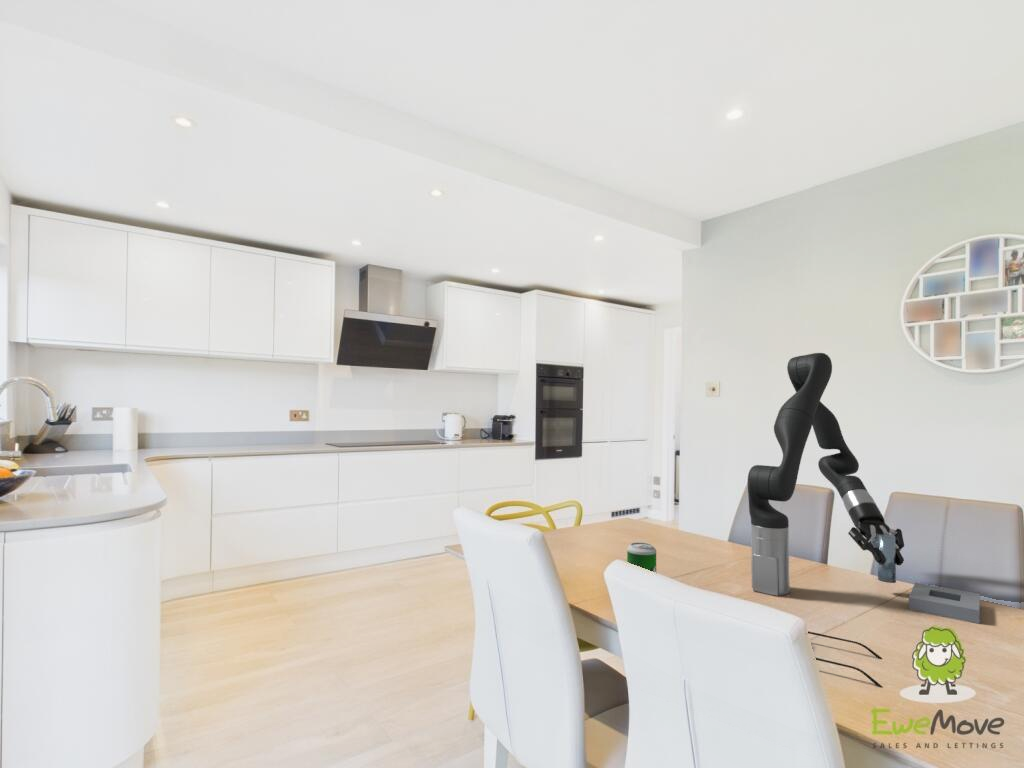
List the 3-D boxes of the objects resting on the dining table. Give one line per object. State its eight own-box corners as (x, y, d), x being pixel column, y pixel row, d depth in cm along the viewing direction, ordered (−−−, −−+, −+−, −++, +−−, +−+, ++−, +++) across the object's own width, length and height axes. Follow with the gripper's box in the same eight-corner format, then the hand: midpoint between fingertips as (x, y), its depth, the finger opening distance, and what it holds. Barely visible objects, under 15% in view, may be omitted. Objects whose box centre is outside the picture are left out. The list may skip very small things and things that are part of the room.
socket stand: (979, 623, 123) (978, 610, 123) (909, 609, 131) (908, 597, 131) (980, 605, 135) (979, 593, 135) (915, 593, 143) (915, 582, 143)
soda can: (651, 597, 138) (651, 549, 138) (623, 591, 142) (623, 545, 142) (659, 589, 144) (659, 544, 145) (632, 584, 148) (632, 540, 149)
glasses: (787, 639, 114) (787, 615, 114) (882, 660, 104) (881, 634, 105) (777, 664, 102) (776, 637, 102) (882, 690, 93) (881, 660, 93)
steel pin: (895, 583, 140) (894, 537, 141) (876, 580, 143) (875, 534, 144) (897, 580, 143) (896, 535, 144) (879, 577, 146) (878, 532, 147)
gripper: (842, 500, 152) (870, 555, 139) (893, 502, 152) (926, 556, 139) (832, 516, 157) (858, 570, 144) (881, 517, 157) (912, 571, 144)
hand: (891, 563), depth 142 cm, fingers closed on steel pin, 4 cm apart
